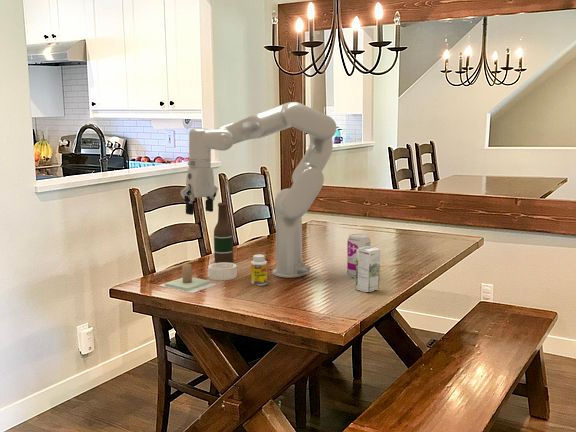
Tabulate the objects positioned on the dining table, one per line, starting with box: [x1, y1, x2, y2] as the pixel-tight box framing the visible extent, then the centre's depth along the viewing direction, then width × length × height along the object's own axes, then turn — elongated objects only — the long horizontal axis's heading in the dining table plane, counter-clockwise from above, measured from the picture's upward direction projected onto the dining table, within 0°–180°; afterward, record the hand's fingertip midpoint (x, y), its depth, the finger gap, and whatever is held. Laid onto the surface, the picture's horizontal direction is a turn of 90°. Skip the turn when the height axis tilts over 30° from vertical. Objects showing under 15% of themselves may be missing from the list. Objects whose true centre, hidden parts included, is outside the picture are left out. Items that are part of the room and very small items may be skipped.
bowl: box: [207, 262, 238, 281], centre depth 223 cm, size 10×10×4 cm
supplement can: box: [346, 233, 371, 279], centre depth 222 cm, size 8×8×15 cm
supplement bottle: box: [250, 254, 268, 287], centre depth 214 cm, size 6×6×10 cm
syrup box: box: [355, 245, 381, 293], centre depth 205 cm, size 6×6×14 cm
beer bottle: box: [213, 202, 234, 263], centre depth 244 cm, size 8×8×24 cm
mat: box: [158, 282, 217, 294], centre depth 213 cm, size 16×12×1 cm
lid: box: [165, 263, 211, 292], centre depth 212 cm, size 11×11×7 cm
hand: (199, 212), depth 217 cm, fingers open, 9 cm apart
